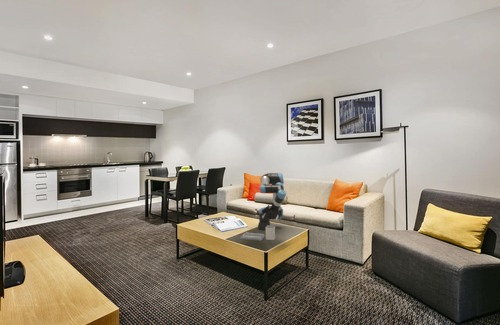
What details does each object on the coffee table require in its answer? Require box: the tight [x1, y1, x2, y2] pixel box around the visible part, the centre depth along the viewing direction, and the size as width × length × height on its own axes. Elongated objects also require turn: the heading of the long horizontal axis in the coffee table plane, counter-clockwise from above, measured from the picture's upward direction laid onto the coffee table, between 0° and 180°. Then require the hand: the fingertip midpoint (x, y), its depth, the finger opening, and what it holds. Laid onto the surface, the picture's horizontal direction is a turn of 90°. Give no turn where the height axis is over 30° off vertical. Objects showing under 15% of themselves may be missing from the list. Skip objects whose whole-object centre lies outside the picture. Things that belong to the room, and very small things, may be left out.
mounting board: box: [239, 231, 266, 242], centre depth 262 cm, size 16×22×2 cm
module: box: [265, 225, 276, 241], centre depth 256 cm, size 6×8×13 cm
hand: (269, 218), depth 251 cm, fingers open, 13 cm apart
